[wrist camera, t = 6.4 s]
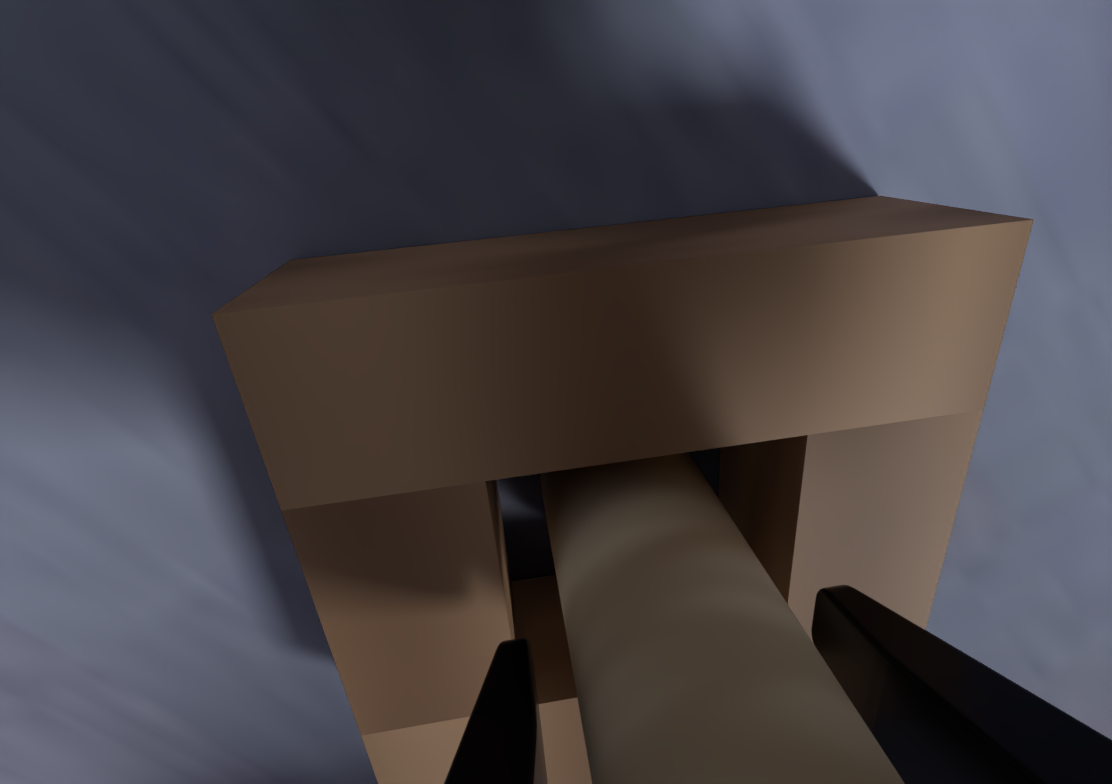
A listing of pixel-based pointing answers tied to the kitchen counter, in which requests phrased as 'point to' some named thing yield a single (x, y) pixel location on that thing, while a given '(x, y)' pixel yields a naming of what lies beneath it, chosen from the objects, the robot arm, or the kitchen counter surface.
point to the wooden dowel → (690, 640)
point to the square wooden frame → (611, 423)
